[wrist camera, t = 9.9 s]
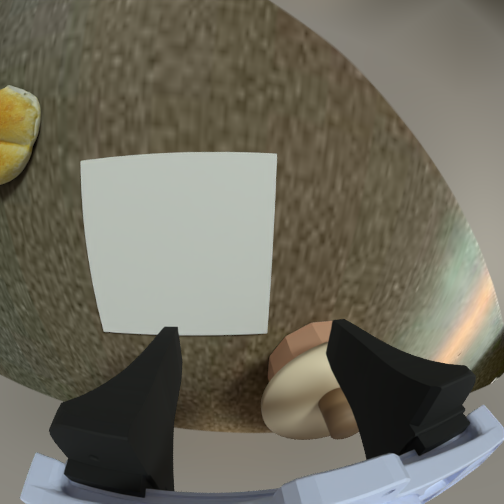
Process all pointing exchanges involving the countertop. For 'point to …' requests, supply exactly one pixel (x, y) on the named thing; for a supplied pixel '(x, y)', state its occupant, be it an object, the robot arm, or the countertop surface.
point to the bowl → (298, 344)
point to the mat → (181, 241)
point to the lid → (307, 400)
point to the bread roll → (17, 130)
